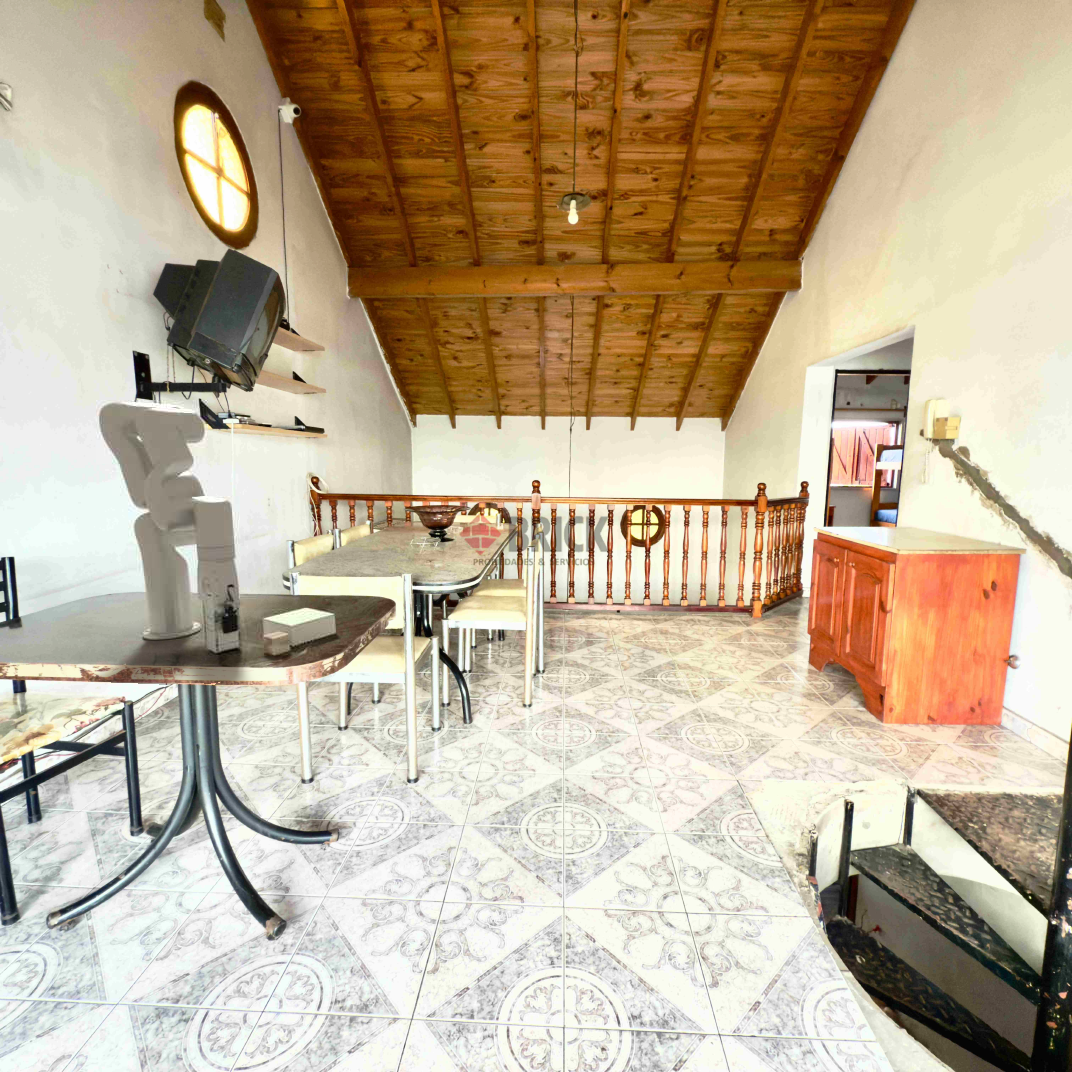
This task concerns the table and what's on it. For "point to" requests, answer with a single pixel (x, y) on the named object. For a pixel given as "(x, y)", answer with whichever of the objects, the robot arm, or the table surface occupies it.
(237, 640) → the syrup box
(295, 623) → the podium
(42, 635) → the table surface
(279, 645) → the ash block
